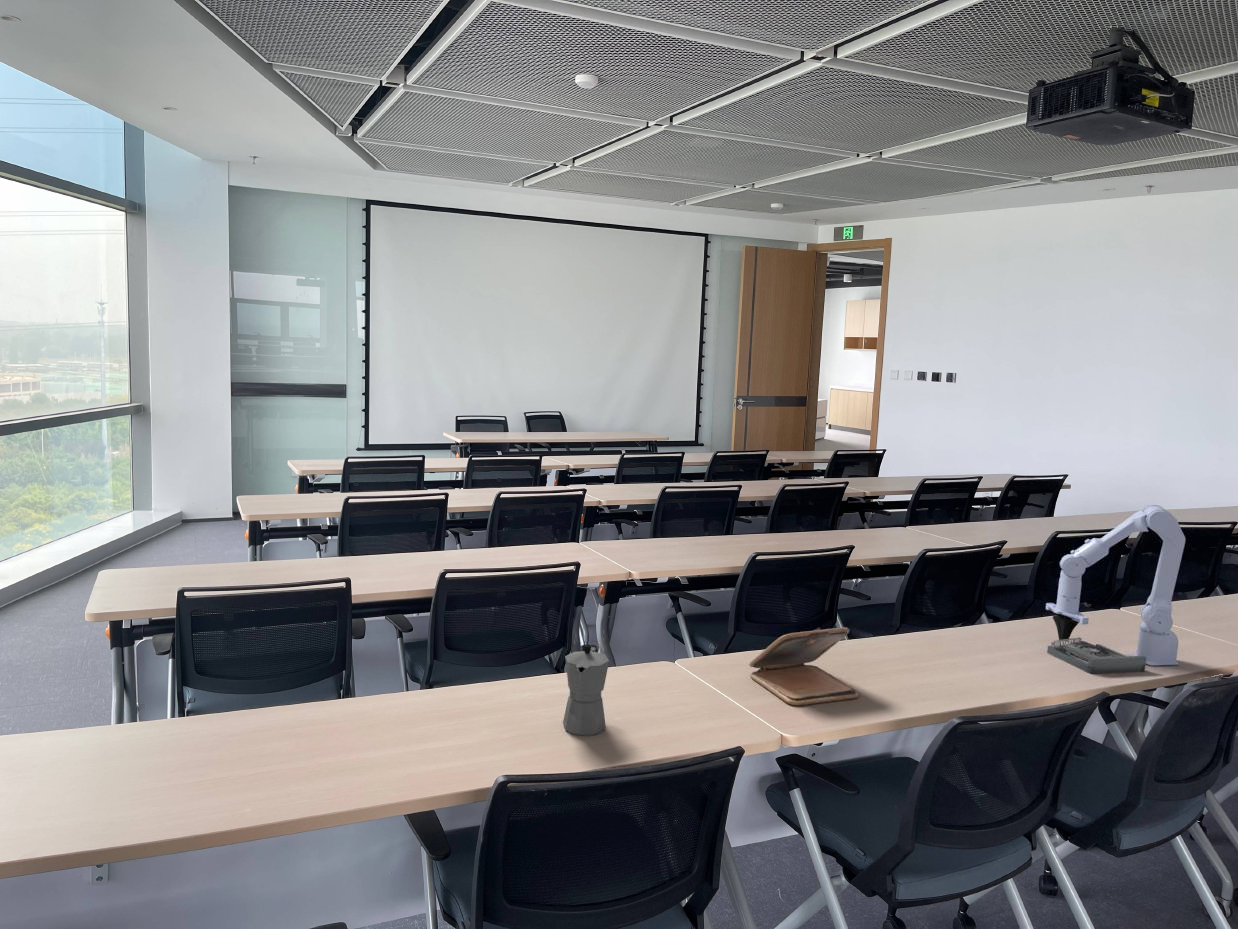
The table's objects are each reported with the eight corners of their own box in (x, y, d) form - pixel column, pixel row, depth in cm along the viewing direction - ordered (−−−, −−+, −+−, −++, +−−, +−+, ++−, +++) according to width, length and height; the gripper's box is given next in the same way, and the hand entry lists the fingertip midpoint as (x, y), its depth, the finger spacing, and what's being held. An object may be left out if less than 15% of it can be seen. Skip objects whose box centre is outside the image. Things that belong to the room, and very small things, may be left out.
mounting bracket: (1098, 650, 241) (1100, 637, 240) (1144, 671, 225) (1146, 657, 225) (1047, 652, 237) (1048, 639, 237) (1090, 673, 221) (1092, 659, 221)
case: (813, 668, 217) (817, 608, 215) (863, 699, 197) (868, 634, 195) (744, 676, 209) (748, 614, 207) (790, 709, 190) (794, 642, 188)
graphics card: (1048, 639, 239) (1079, 635, 244) (1047, 652, 240) (1078, 648, 244) (1099, 660, 224) (1131, 656, 228) (1098, 674, 224) (1130, 669, 228)
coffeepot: (600, 743, 168) (604, 657, 166) (555, 737, 169) (558, 653, 167) (612, 712, 183) (616, 633, 181) (571, 707, 184) (574, 629, 182)
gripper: (1039, 589, 247) (1034, 632, 249) (1075, 603, 233) (1070, 649, 235) (1059, 588, 249) (1054, 632, 250) (1096, 602, 235) (1091, 648, 236)
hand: (1063, 640), depth 243 cm, fingers closed
